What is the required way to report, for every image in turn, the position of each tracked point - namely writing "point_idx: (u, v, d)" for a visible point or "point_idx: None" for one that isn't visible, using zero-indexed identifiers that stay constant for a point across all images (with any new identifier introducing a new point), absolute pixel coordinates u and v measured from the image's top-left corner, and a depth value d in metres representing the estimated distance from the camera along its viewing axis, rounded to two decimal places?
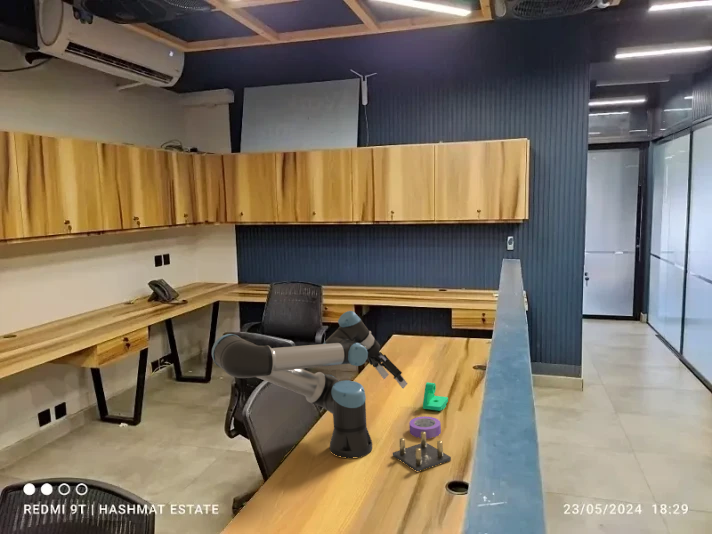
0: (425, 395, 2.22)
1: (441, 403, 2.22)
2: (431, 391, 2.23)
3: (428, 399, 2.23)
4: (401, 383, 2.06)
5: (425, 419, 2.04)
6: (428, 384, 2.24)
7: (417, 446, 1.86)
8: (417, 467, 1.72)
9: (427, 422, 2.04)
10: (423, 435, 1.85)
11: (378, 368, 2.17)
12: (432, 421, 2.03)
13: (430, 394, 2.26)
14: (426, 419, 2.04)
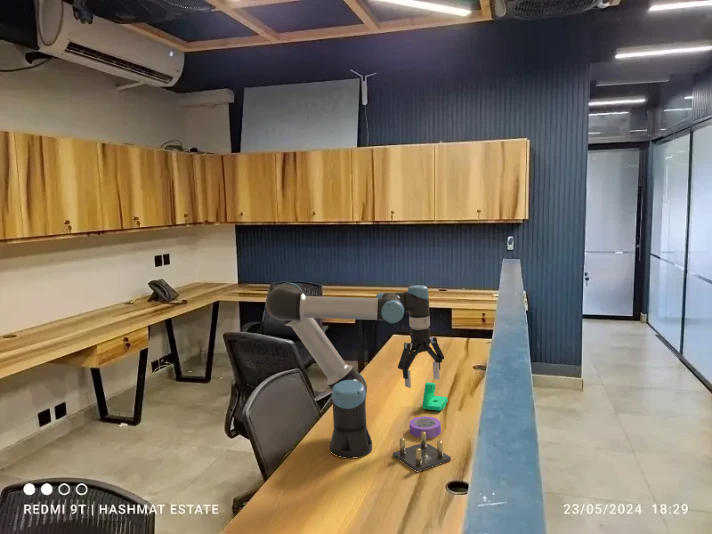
0: (425, 395, 2.22)
1: (441, 403, 2.22)
2: (431, 391, 2.23)
3: (427, 399, 2.23)
4: (405, 380, 1.96)
5: (425, 419, 2.04)
6: (428, 384, 2.24)
7: (417, 446, 1.86)
8: (417, 467, 1.72)
9: (427, 422, 2.04)
10: (423, 435, 1.85)
11: (434, 364, 2.02)
12: (432, 421, 2.03)
13: (430, 394, 2.26)
14: (426, 419, 2.04)
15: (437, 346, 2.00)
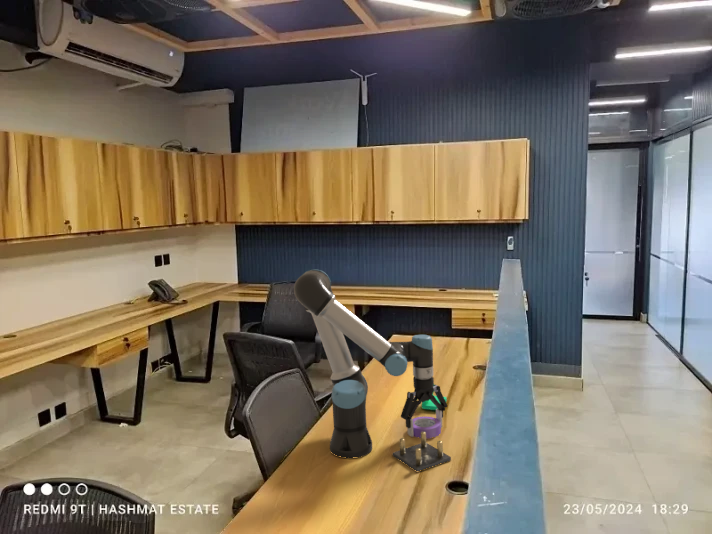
0: None
1: None
2: None
3: None
4: (408, 429, 1.98)
5: (425, 419, 2.04)
6: None
7: (417, 446, 1.86)
8: (417, 467, 1.72)
9: (427, 422, 2.04)
10: (423, 435, 1.85)
11: (437, 411, 2.04)
12: (432, 421, 2.03)
13: None
14: (426, 419, 2.04)
15: (440, 395, 2.02)
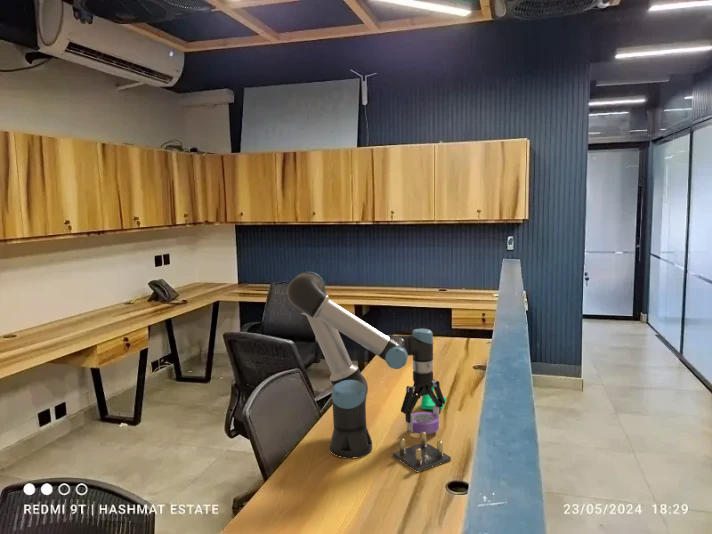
0: (424, 395, 2.22)
1: None
2: None
3: (426, 399, 2.23)
4: (408, 423, 1.98)
5: (423, 414, 2.04)
6: None
7: (417, 446, 1.86)
8: (417, 467, 1.72)
9: (426, 418, 2.04)
10: (423, 435, 1.85)
11: (434, 408, 2.04)
12: (430, 416, 2.03)
13: None
14: (424, 414, 2.04)
15: (439, 390, 2.02)
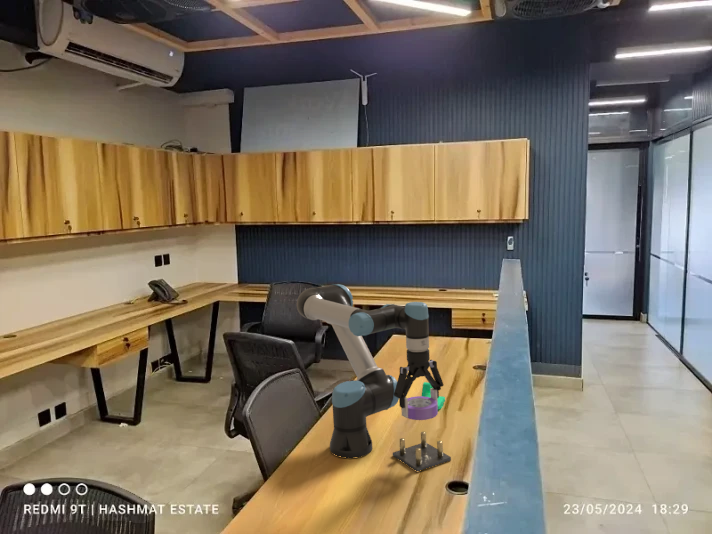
0: (423, 395, 2.23)
1: (438, 403, 2.22)
2: (428, 391, 2.23)
3: None
4: (402, 409, 1.76)
5: (420, 399, 1.82)
6: (426, 384, 2.24)
7: (417, 446, 1.86)
8: (417, 467, 1.72)
9: (422, 403, 1.82)
10: (423, 435, 1.85)
11: (431, 391, 1.81)
12: (428, 401, 1.80)
13: (427, 394, 2.26)
14: (421, 399, 1.82)
15: (436, 371, 1.79)
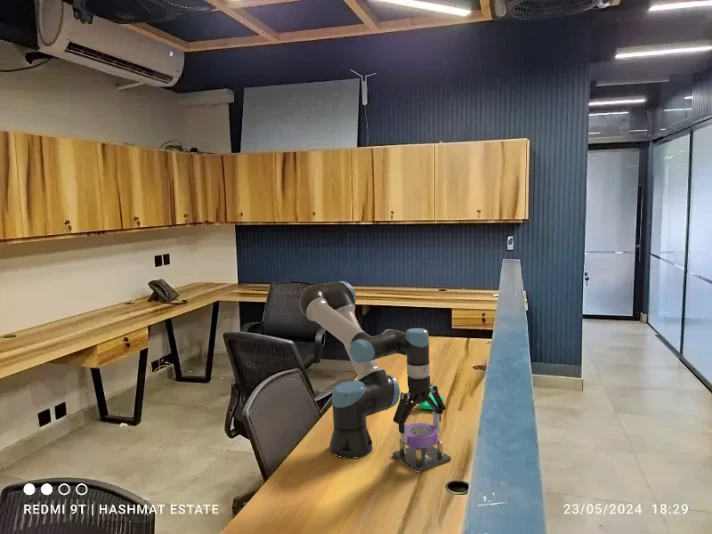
0: None
1: None
2: None
3: None
4: (401, 434, 1.76)
5: (420, 426, 1.83)
6: None
7: None
8: (417, 467, 1.72)
9: (423, 430, 1.83)
10: None
11: (434, 415, 1.82)
12: (428, 428, 1.81)
13: None
14: (422, 426, 1.83)
15: (438, 396, 1.80)
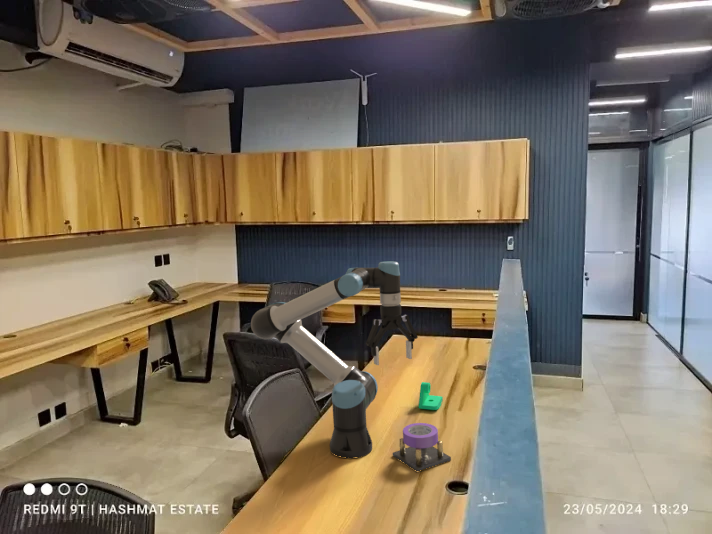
0: (421, 395, 2.23)
1: (436, 402, 2.23)
2: (426, 391, 2.24)
3: (423, 398, 2.23)
4: (374, 357, 1.92)
5: (420, 426, 1.83)
6: (424, 384, 2.25)
7: None
8: (417, 467, 1.72)
9: (423, 430, 1.83)
10: None
11: (406, 343, 1.97)
12: (428, 428, 1.81)
13: (425, 394, 2.26)
14: (422, 426, 1.83)
15: (409, 324, 1.95)
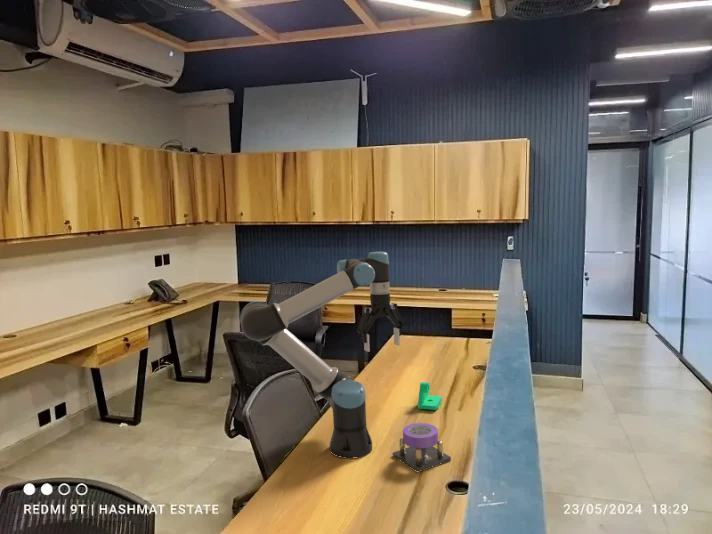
0: (420, 395, 2.23)
1: (436, 402, 2.23)
2: (426, 391, 2.24)
3: (423, 398, 2.23)
4: (365, 344, 1.99)
5: (420, 426, 1.83)
6: (423, 384, 2.25)
7: None
8: (417, 467, 1.72)
9: (423, 430, 1.83)
10: None
11: (394, 330, 2.06)
12: (428, 428, 1.81)
13: (424, 394, 2.26)
14: (422, 426, 1.83)
15: (397, 312, 2.04)
